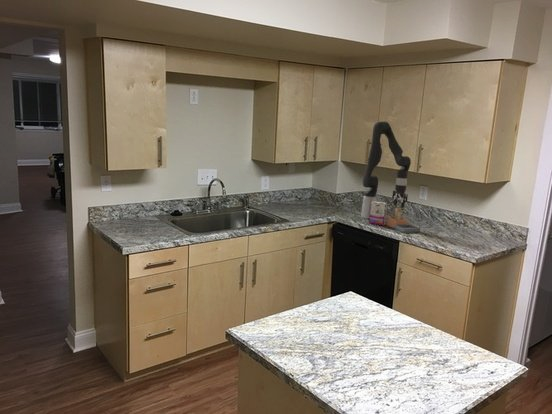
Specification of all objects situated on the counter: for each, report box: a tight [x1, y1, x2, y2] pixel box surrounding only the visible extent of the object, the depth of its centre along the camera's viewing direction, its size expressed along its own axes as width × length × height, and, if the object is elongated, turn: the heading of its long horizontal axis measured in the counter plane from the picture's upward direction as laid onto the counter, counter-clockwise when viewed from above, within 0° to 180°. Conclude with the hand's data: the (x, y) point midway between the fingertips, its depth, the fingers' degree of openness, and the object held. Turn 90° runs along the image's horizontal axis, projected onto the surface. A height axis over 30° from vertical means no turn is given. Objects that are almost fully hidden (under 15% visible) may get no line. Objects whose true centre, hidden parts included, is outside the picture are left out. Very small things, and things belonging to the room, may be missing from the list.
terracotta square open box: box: [386, 215, 408, 229], centre depth 332 cm, size 10×10×6 cm
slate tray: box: [392, 223, 420, 234], centre depth 323 cm, size 11×14×3 cm
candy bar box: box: [368, 200, 388, 226], centre depth 336 cm, size 11×5×16 cm, turn 62°
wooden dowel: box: [394, 207, 402, 220], centre depth 332 cm, size 4×4×14 cm
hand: (398, 206), depth 330 cm, fingers open, 8 cm apart
